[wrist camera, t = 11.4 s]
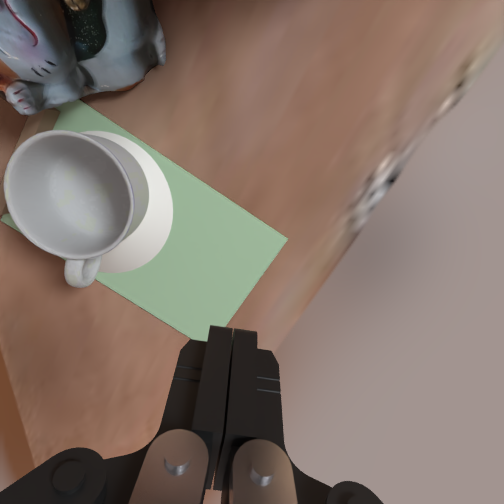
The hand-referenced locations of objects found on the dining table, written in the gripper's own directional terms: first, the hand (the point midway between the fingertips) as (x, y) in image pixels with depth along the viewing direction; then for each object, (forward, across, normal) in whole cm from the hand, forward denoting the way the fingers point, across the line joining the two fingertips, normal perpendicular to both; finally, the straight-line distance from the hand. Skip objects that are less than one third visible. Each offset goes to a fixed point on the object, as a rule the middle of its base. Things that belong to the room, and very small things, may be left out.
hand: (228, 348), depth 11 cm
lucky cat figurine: (+30, +16, -8) cm, 35 cm away
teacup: (+27, +14, +8) cm, 31 cm away
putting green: (+26, +10, +10) cm, 29 cm away
